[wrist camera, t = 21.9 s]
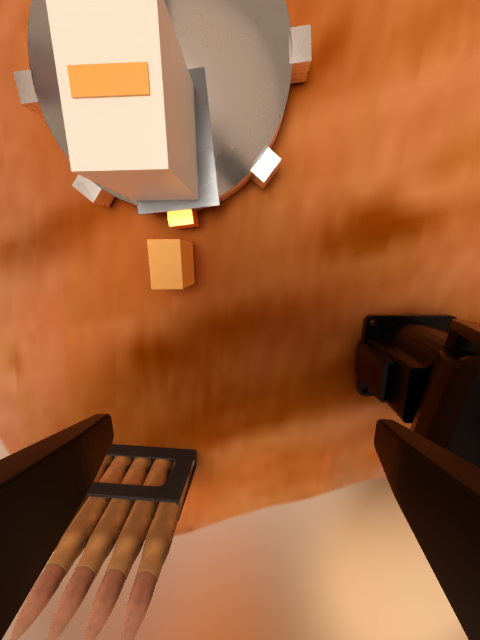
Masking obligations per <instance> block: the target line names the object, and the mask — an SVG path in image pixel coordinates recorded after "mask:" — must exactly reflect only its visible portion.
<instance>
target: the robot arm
mask: <svg viewBox="0 0 480 640" xmlns="http://www.w3.org/2000/svg"><path fill="white" fill-rule="evenodd" d="M372 319H374V323H373V324H370V321H371V320H372ZM448 320H450V323H449V324H447V321H448ZM356 374H357V375H358V379H357V391H358V392H359V393H360V394H361V395H363V396H376V397H377V398H378V399H379V400H380V401H381V402H386V403H387V404H388V405H389V406H390V407H391V408H392V409H393V410H394V412H395V413H396V414H397V415H398V416H399V417H400V418H401V419H402V420H403V421H404V422H405V423H412V425H411V428H410V429H408V428H406V427H404V426H402V425H400V424H399V423H397V422H395V421H393V420H387V419H380V420H378V421H377V424H376V431H375V438H374V446H375V449H376V452H377V454H378V457H379V459H380V462H381V464H382V467H383V469H384V472H385V474H386V477H387V479H388V482H389V484H390V486H391V489H392V491H393V494H394V496H395V498H396V500H397V502H398V504H399V506H400V508H401V510H402V512H403V514H404V516H405V518H406V519H407V522H408V523H409V525H410V527H411V529H412V531H413V533H414V535H415V537H416V539H417V541H418V543H419V545H420V546H421V549H422V550H423V552H424V554H425V556H426V558H427V560H428V562H429V564H430V566H431V568H432V570H433V572H434V574H435V575H436V577H437V579H438V581H439V583H440V585H441V587H442V589H443V591H444V593H445V595H446V597H447V599H448V601H449V603H450V605H451V606H452V608H453V610H454V612H455V614H456V616H457V618H458V620H459V622H460V623H461V626H462V628H463V629H464V632H465V633H466V635H467V637H468V639H469V640H480V323H476V322H470V321H464V320H458V319H457V318H456V317H454V316H451V315H368V316H367V317H366V318H365V320H364V326H363V335H362V341H361V342H360V343H359V344H358V354H357V363H356ZM364 387H366V389H365V390H362V388H364ZM113 437H114V434H113V427H112V420H111V416H110V415H109V414H96V415H93V416H91V417H89V418H87V419H85V420H83V421H81V422H79V423H77V424H75V425H72V426H70V427H68V428H66V429H64V430H62V431H60V432H58V433H56V434H54V435H51V436H49V437H47V438H45V439H43V440H41V441H39V442H37V443H35V444H32V445H30V446H28V447H26V448H24V449H22V450H20V451H18V452H16V453H14V454H11V455H9V456H7V457H5V458H3V459H1V460H0V640H2V638H3V636H4V635H5V633H6V631H7V630H8V628H9V626H10V625H11V623H12V621H13V619H14V618H15V616H16V614H17V613H18V611H19V609H20V607H21V606H22V604H23V602H24V601H25V599H26V597H27V595H28V594H29V592H30V590H31V589H32V587H33V585H34V583H35V582H36V580H37V579H38V577H39V575H40V573H41V572H42V570H43V568H44V567H45V565H46V563H47V561H48V560H49V558H50V556H51V555H52V553H53V551H54V550H55V548H56V546H57V544H58V543H59V541H60V539H61V538H62V536H63V534H64V532H65V531H66V529H67V527H68V526H69V524H70V522H71V521H72V519H73V517H74V515H75V514H76V512H77V510H78V509H79V507H80V505H81V503H82V502H83V500H84V498H85V497H86V495H87V493H88V491H89V490H90V488H91V486H92V484H93V482H94V480H95V478H96V476H97V474H98V472H99V470H100V467H101V465H102V463H103V461H104V459H105V457H106V455H107V452H108V450H109V448H110V446H111V444H112V442H113Z"/></svg>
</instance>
